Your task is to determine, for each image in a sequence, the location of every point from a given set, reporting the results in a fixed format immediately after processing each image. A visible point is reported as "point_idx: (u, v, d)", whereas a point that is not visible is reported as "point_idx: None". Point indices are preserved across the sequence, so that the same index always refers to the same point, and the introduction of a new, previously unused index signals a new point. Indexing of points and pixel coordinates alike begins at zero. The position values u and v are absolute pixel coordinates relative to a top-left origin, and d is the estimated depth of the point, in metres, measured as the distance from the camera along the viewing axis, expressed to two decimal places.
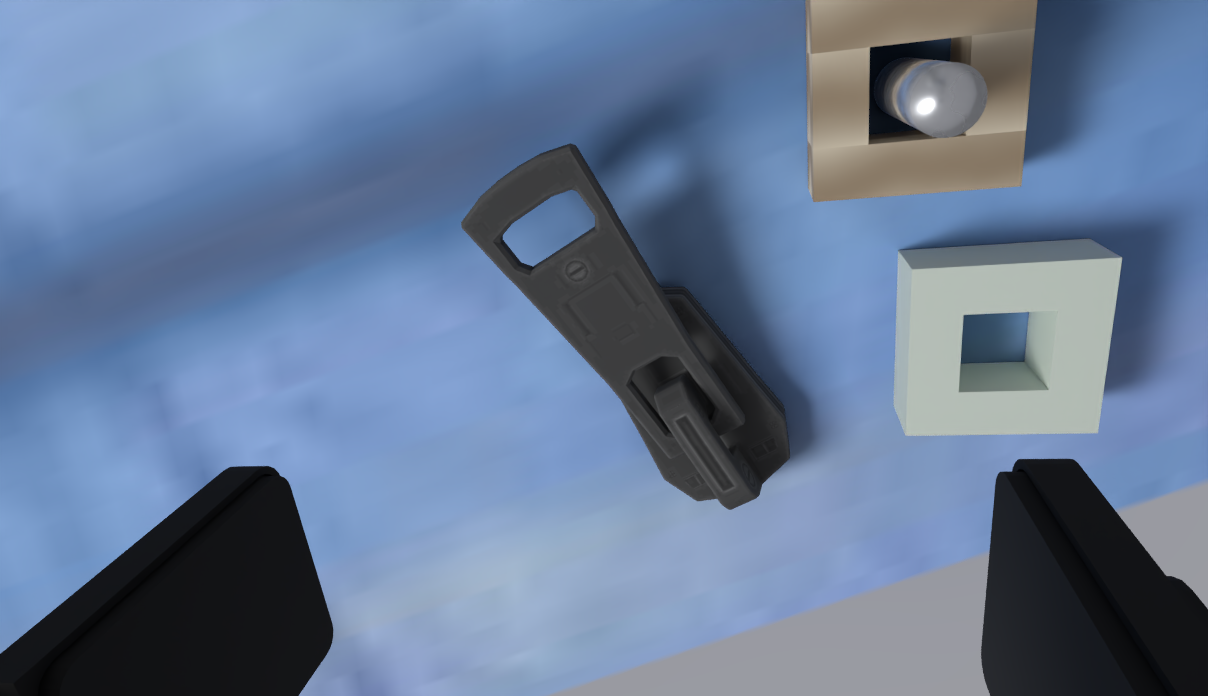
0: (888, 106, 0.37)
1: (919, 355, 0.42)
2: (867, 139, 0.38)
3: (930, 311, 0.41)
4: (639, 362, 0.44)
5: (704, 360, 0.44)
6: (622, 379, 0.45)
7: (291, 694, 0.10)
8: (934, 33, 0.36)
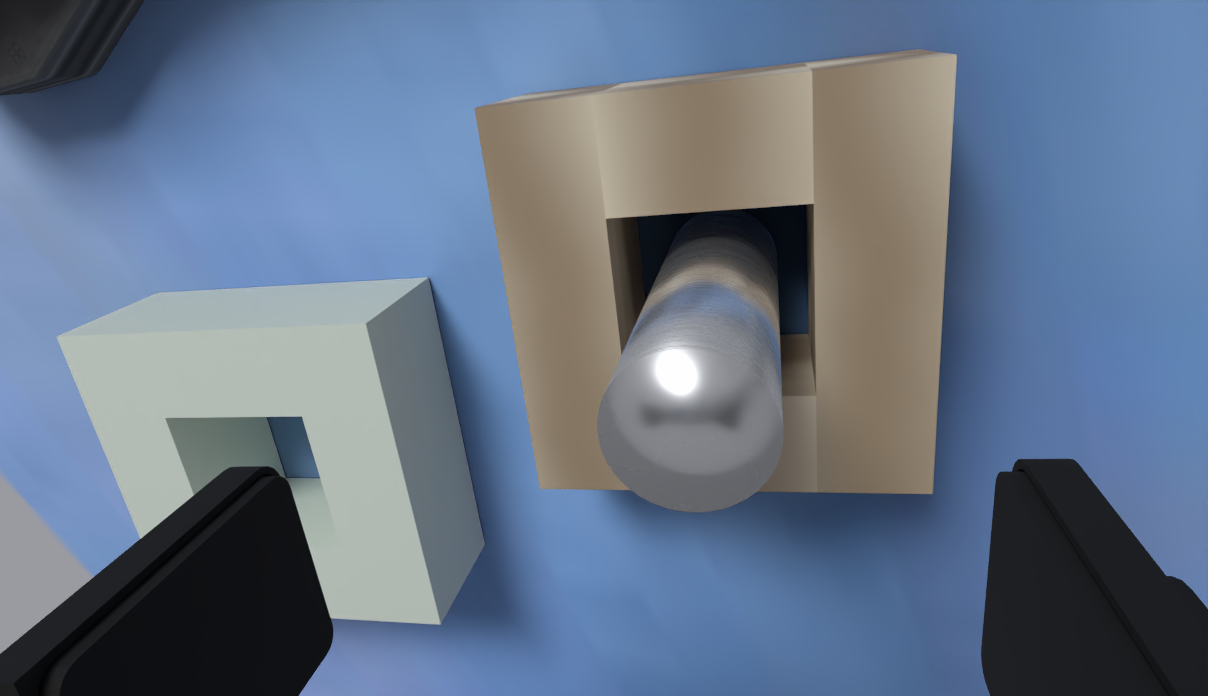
0: (685, 253, 0.17)
1: (208, 349, 0.21)
2: (616, 215, 0.17)
3: (294, 361, 0.20)
4: None
5: None
6: None
7: (291, 694, 0.10)
8: (828, 330, 0.17)
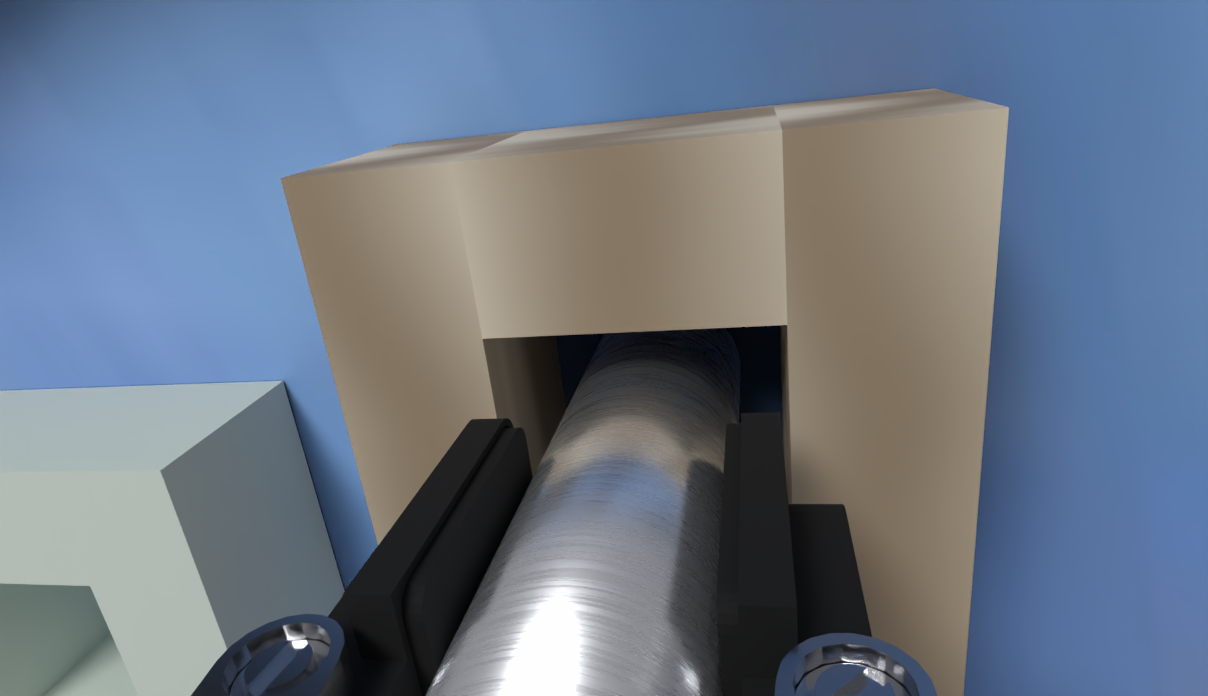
0: (598, 391, 0.11)
1: None
2: (497, 335, 0.12)
3: (71, 516, 0.15)
4: None
5: None
6: None
7: None
8: (810, 500, 0.12)
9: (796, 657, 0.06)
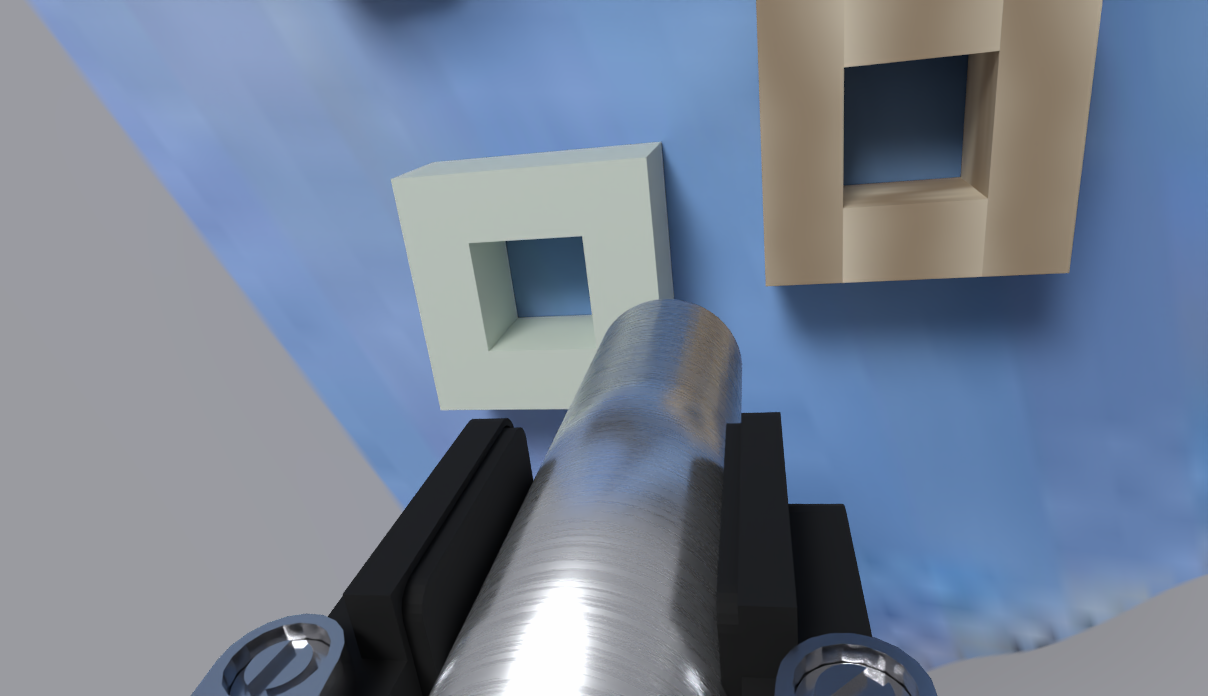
0: (600, 391, 0.11)
1: (515, 183, 0.28)
2: (852, 64, 0.24)
3: (583, 191, 0.28)
4: None
5: None
6: None
7: None
8: (1001, 146, 0.24)
9: (796, 657, 0.06)
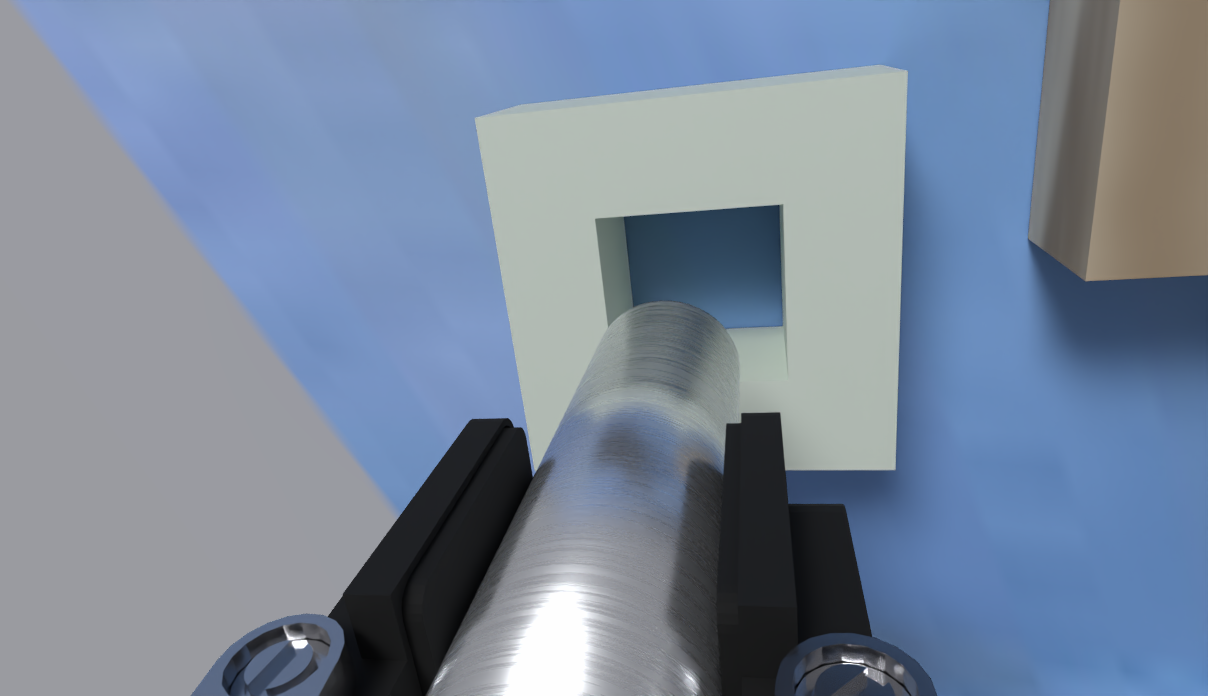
0: (598, 393, 0.11)
1: (679, 121, 0.18)
2: None
3: (793, 130, 0.17)
4: None
5: None
6: None
7: None
8: None
9: (796, 657, 0.06)
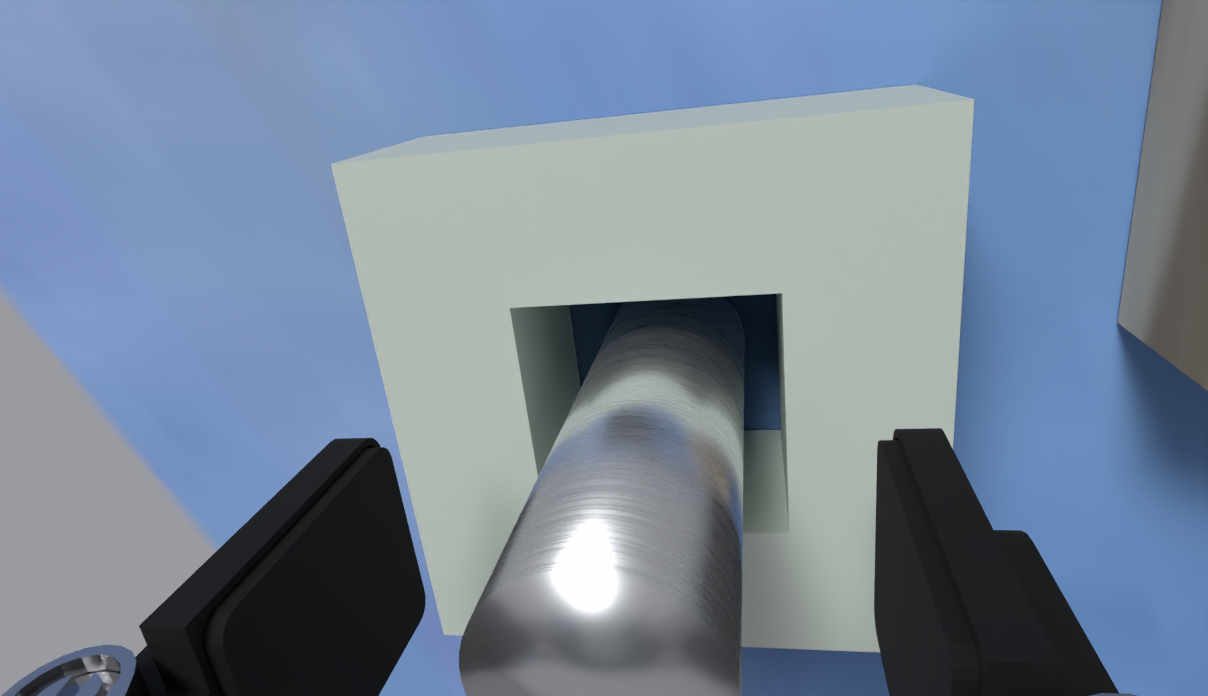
0: (619, 353, 0.13)
1: (627, 171, 0.12)
2: None
3: (798, 187, 0.11)
4: None
5: None
6: None
7: (393, 656, 0.11)
8: None
9: None
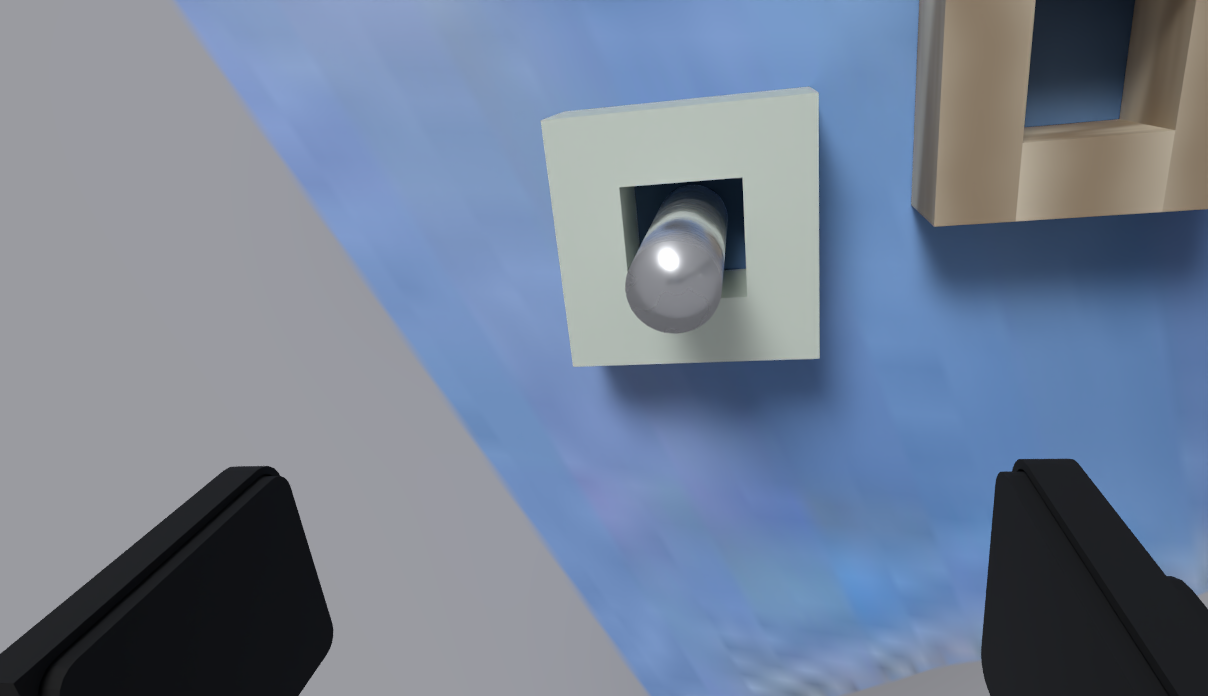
0: (669, 207, 0.28)
1: (675, 123, 0.27)
2: None
3: (748, 129, 0.27)
4: None
5: None
6: None
7: (291, 694, 0.10)
8: (1194, 75, 0.24)
9: None
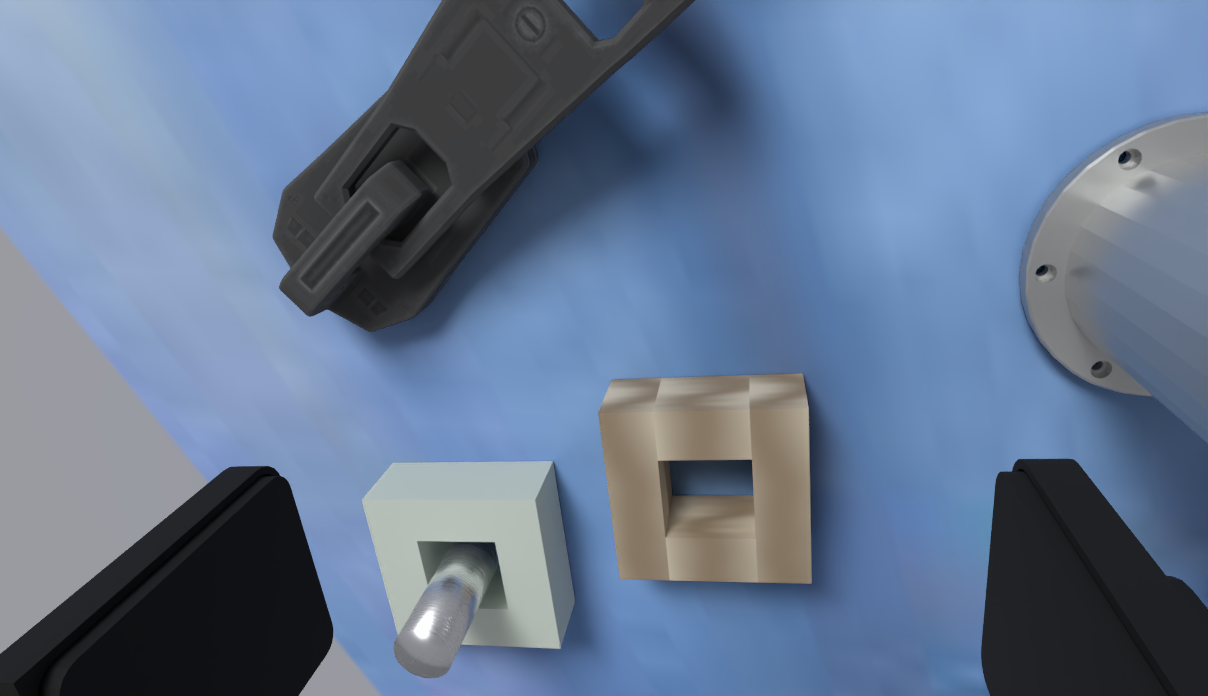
0: (450, 555, 0.42)
1: (448, 508, 0.41)
2: (662, 459, 0.37)
3: (494, 516, 0.40)
4: (428, 136, 0.32)
5: (457, 217, 0.34)
6: (397, 116, 0.32)
7: (291, 694, 0.10)
8: (760, 511, 0.37)
9: None
